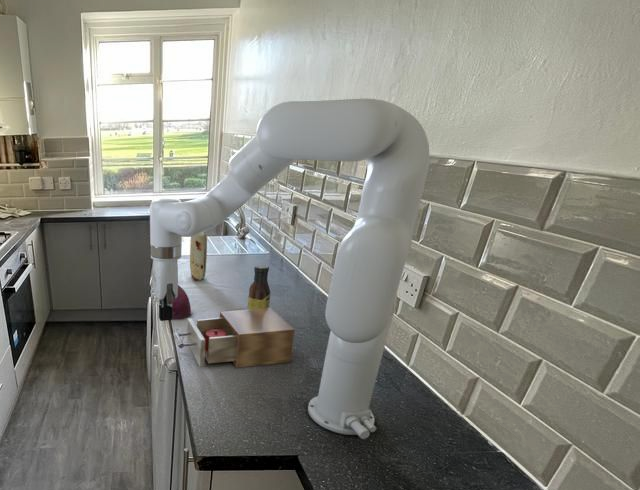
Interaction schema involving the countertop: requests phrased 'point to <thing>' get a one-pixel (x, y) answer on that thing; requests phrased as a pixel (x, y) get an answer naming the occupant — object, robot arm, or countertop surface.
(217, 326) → the drawer
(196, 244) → the food model
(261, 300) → the sauce bottle
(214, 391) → the countertop surface
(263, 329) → the cabinet
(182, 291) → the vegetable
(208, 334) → the red cylinder
